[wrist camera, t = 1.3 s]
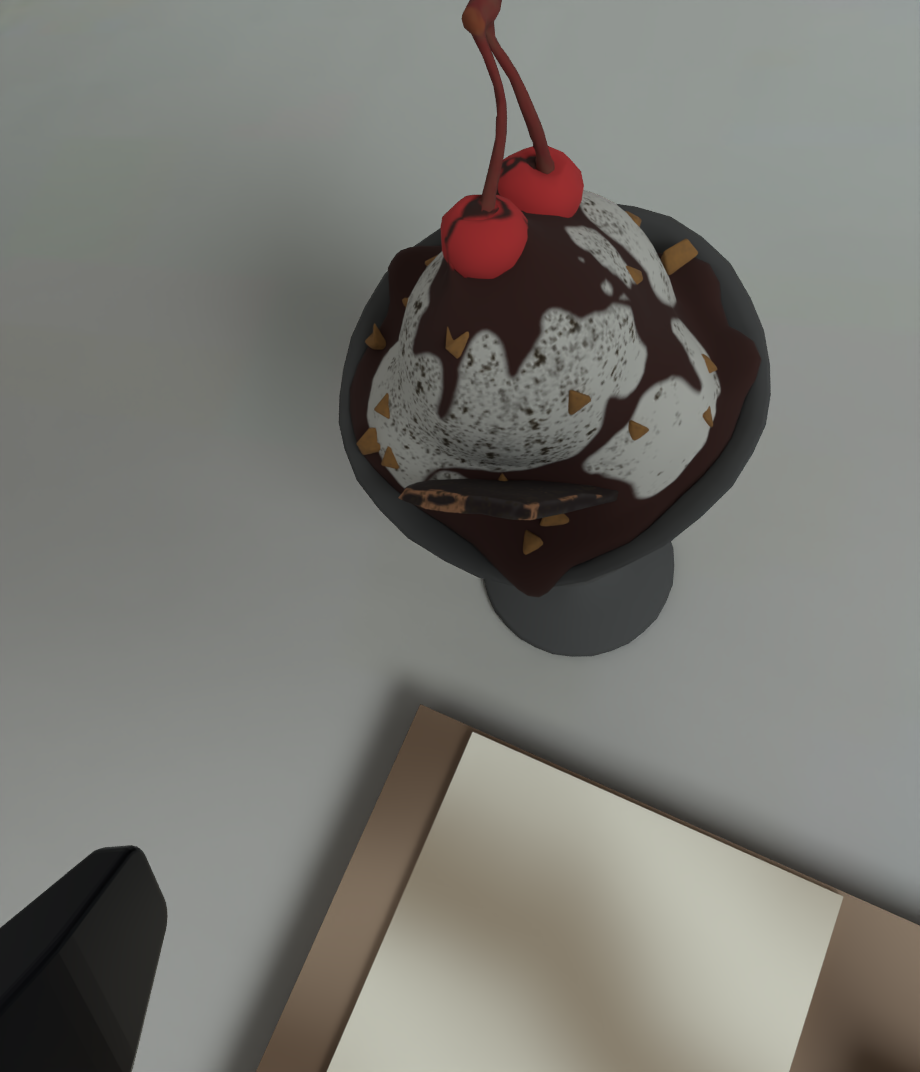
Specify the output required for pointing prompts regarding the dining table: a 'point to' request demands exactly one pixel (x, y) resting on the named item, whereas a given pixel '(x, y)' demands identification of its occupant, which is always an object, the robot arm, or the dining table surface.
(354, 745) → the dining table surface
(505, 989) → the board
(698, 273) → the sundae
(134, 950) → the robot arm
